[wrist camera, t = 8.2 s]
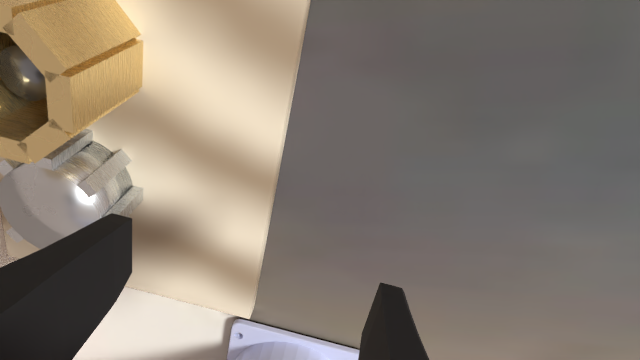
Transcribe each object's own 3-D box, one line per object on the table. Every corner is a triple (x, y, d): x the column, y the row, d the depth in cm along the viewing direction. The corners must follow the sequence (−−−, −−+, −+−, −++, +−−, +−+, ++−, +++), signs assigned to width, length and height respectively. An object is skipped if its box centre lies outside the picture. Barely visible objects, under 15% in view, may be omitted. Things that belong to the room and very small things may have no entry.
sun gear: (142, 238, 25) (112, 277, 22) (39, 211, 25) (-4, 246, 22) (143, 143, 22) (109, 174, 19) (27, 113, 22) (-23, 140, 19)
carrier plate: (254, 306, 27) (249, 319, 26) (20, 244, 28) (7, 255, 27) (326, -89, 17) (322, -88, 16) (-44, -177, 18) (-67, -181, 17)
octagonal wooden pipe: (141, 123, 21) (75, 176, 17) (23, 92, 21) (-71, 137, 17) (144, -4, 19) (66, 21, 14) (9, -39, 19) (-108, -25, 14)
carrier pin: (116, 71, 21) (53, 106, 18) (73, 60, 21) (1, 93, 18) (115, 26, 20) (49, 53, 17) (71, 15, 20) (-7, 39, 17)
